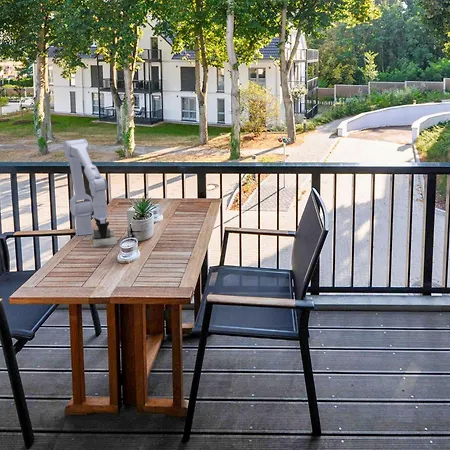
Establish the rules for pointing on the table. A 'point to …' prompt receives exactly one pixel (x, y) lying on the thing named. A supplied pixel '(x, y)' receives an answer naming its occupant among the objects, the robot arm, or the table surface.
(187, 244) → the table surface
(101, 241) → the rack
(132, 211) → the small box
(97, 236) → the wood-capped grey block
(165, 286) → the table surface
